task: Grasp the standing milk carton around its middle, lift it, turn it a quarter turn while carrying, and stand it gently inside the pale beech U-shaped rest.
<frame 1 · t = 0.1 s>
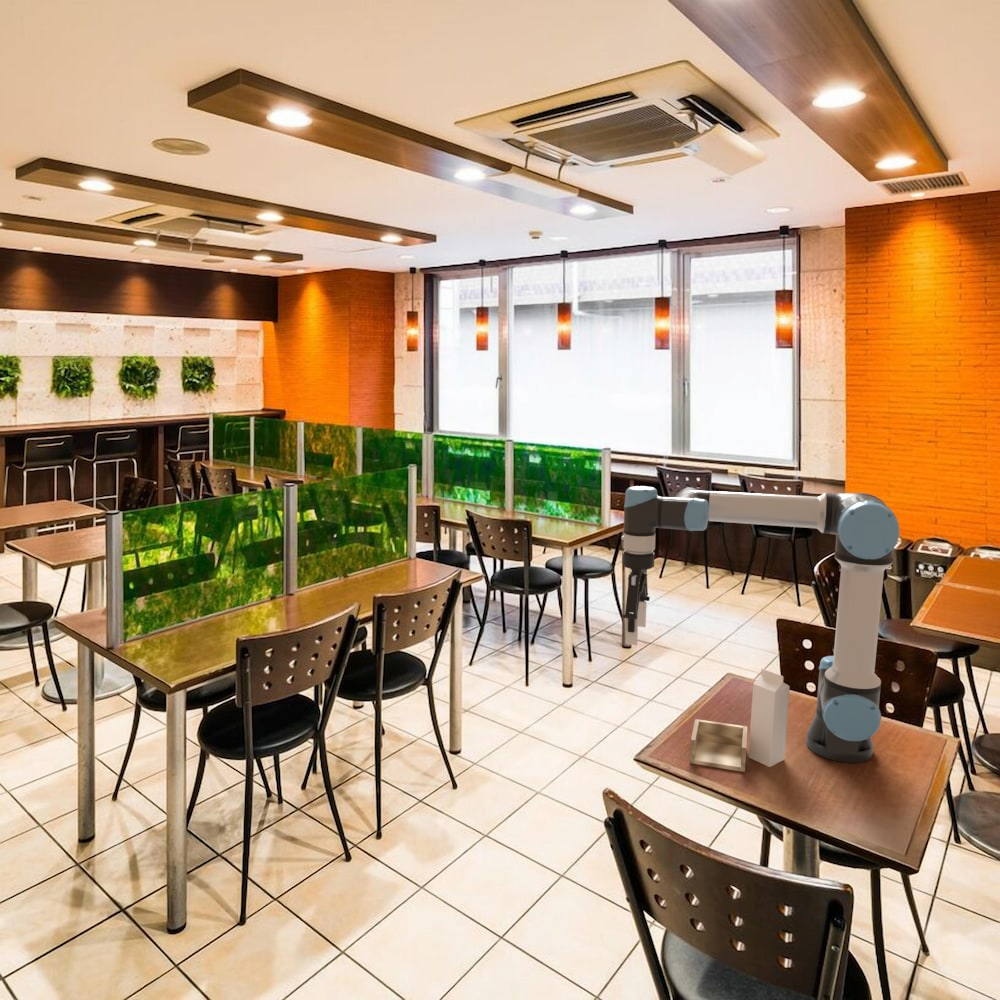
hand: (635, 635, 190), 28 cm above the table, fingers open, 13 cm apart
u rest: (718, 757, 187), on the table
milk: (766, 759, 187), on the table
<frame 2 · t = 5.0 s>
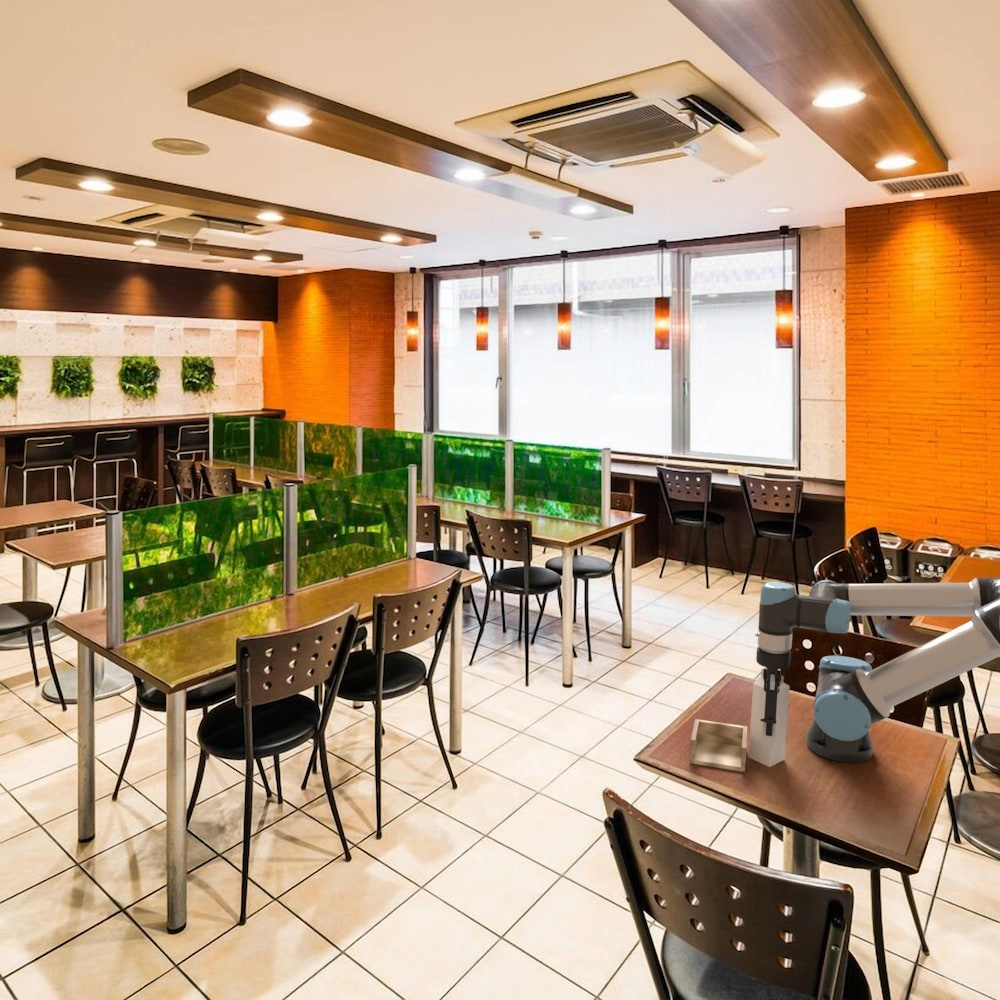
hand: (767, 738, 186), 5 cm above the table, fingers closed on milk, 8 cm apart
milk: (766, 759, 187), on the table, touching gripper
when the fingers open (8 cm above the table, at t = 10.2 s): milk drops 2 cm, resting on u rest.
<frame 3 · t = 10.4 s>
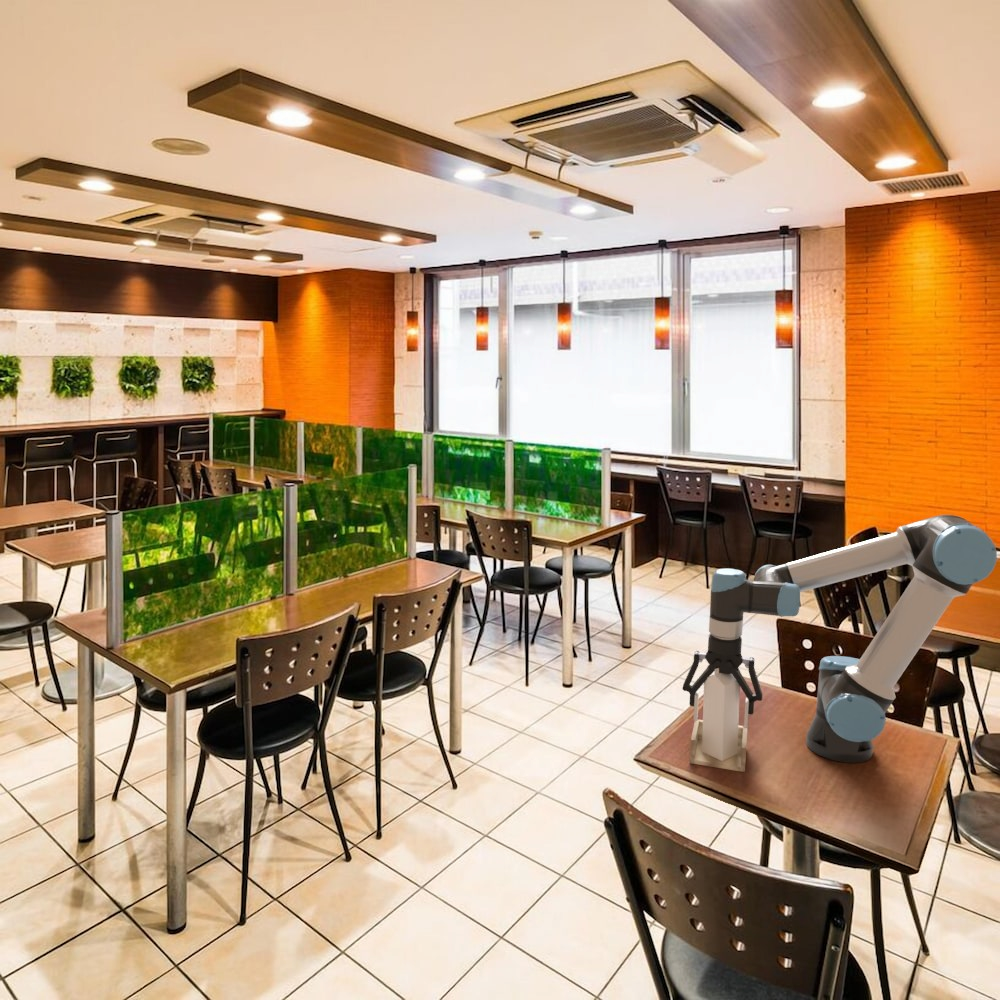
hand: (720, 722, 186), 9 cm above the table, fingers open, 11 cm apart
milk: (719, 753, 187), point 1 cm above the table, touching u rest
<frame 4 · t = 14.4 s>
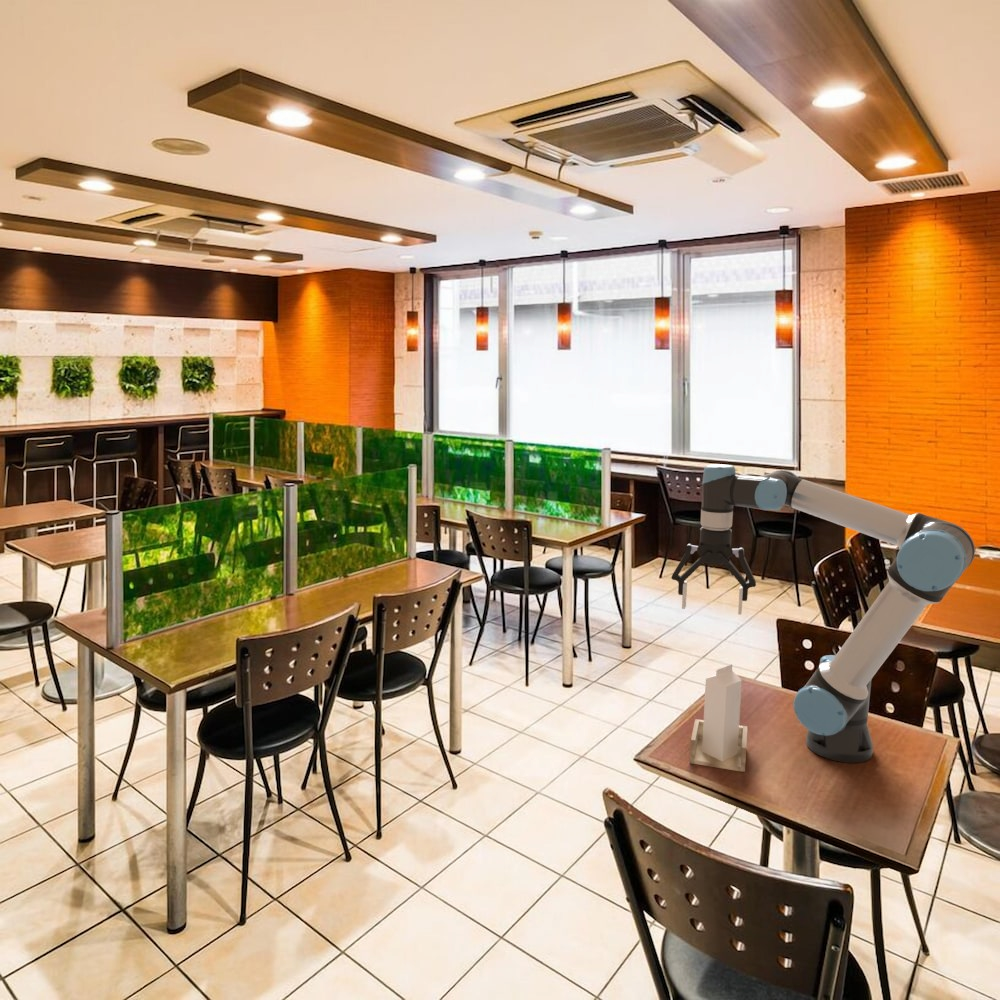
hand: (711, 610, 195), 33 cm above the table, fingers open, 13 cm apart
nothing on the table moved.
at the end: milk inside the target area on the u rest (0.2 cm from its centre), point 0.8 cm above the u rest's base; milk tilted 0°; the gripper is holding nothing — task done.
